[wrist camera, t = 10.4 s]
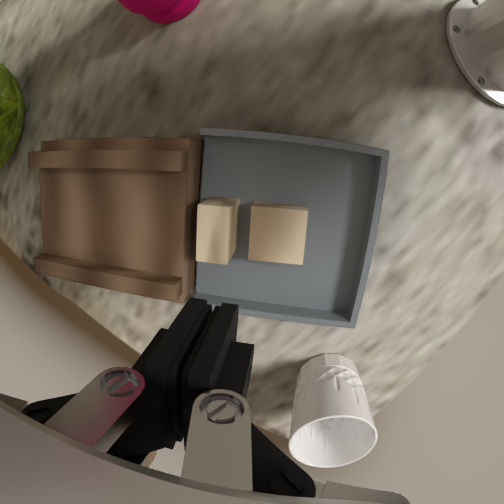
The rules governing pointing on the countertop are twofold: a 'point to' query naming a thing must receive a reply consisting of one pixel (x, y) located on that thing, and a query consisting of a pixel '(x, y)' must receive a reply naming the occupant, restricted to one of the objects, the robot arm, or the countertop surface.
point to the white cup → (330, 414)
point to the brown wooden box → (121, 213)
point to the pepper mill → (161, 9)
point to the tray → (318, 223)
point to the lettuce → (9, 113)
